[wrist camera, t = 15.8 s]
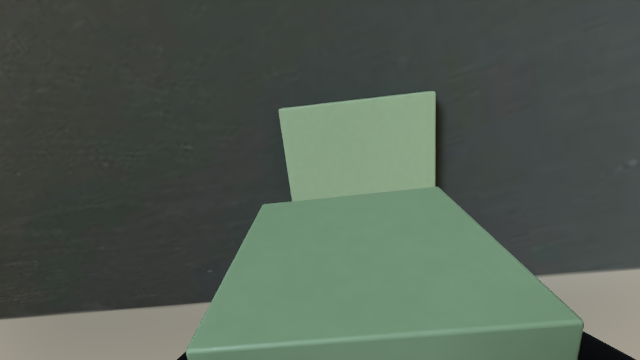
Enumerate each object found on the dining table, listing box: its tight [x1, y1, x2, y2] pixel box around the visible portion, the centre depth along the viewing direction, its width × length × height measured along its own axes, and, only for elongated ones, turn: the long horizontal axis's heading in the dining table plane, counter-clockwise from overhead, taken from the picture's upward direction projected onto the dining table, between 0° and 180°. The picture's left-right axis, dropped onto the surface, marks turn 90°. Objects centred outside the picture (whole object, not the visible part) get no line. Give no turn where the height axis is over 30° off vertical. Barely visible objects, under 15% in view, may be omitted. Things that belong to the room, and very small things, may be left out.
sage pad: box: [279, 91, 436, 201], centre depth 17 cm, size 8×8×1 cm
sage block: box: [186, 187, 584, 360], centre depth 6 cm, size 4×4×4 cm
